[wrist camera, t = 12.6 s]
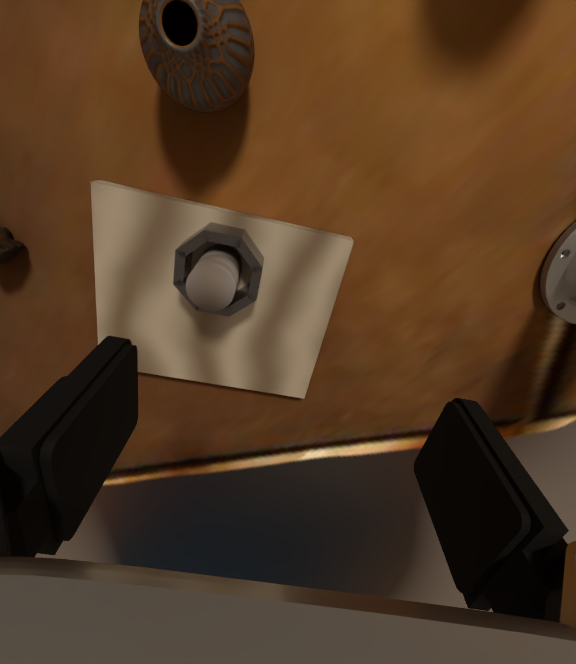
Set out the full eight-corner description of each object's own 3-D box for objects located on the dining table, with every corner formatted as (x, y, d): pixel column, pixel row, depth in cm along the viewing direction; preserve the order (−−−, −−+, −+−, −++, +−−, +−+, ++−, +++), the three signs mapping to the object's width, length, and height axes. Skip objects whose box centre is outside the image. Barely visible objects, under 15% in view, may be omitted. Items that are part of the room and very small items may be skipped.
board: (350, 237, 31) (370, 262, 25) (303, 390, 40) (308, 438, 33) (99, 179, 29) (46, 190, 22) (105, 357, 37) (68, 404, 30)
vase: (229, 135, 27) (210, 132, 20) (146, 77, 25) (89, 49, 18) (275, 41, 25) (273, -5, 17) (185, -32, 23) (137, -121, 15)
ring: (268, 234, 30) (267, 243, 27) (254, 306, 33) (252, 321, 30) (186, 216, 29) (177, 224, 26) (180, 292, 32) (171, 306, 29)
